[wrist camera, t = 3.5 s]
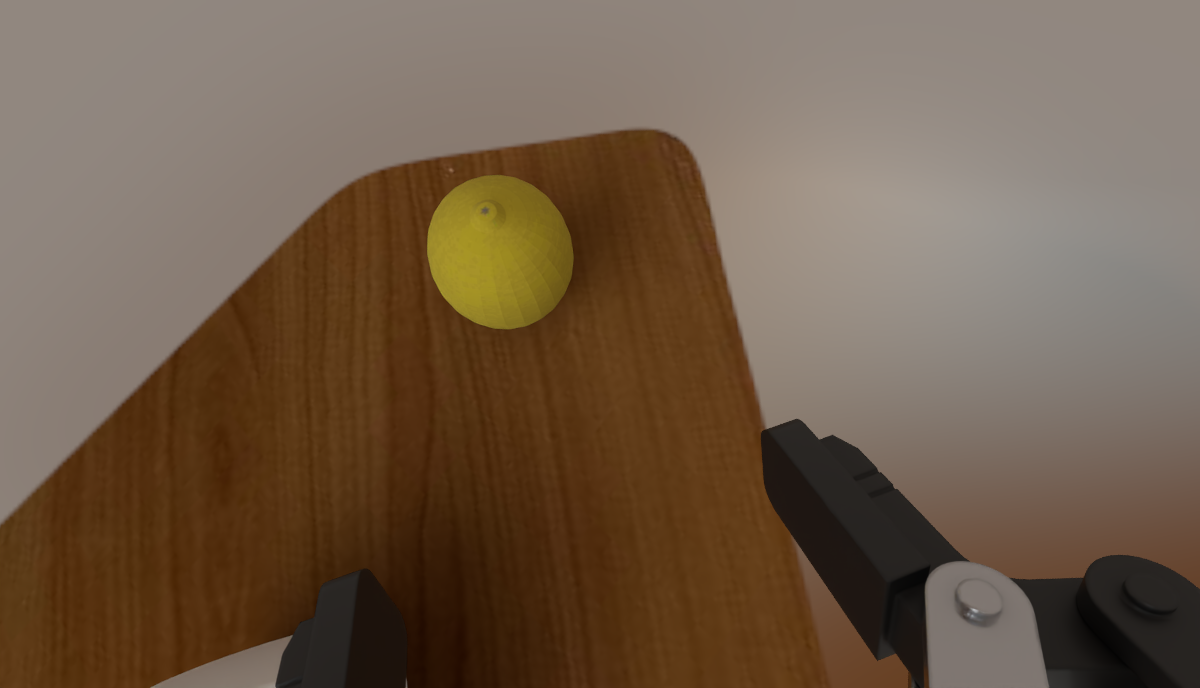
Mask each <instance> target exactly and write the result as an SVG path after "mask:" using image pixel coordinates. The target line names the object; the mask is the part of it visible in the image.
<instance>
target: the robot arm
mask: <svg viewBox="0 0 1200 688" xmlns="http://www.w3.org/2000/svg"><path fill="white" fill-rule="evenodd" d="M761 447H762V461H763V476H764V485H765V489H766V492H767V495H768V497H769V500H770V502H771V504H772V506H773V508H774V509H775V511H776V512H777V514H778V515H779V517H780V518H781V520H782V521H783V523H784V524H785V526H786V527H787V529H788V530H789V532H790V533H791V535H792V536H793V537H794V539H795V540H796V542H797V543H798V545H799V546H800V548H801V549H802V551H803V552H804V554H805V555H806V556H807V558H808V560H809V561H810V562H811V564H812V565H813V567H814V568H815V570H816V571H817V573H818V574H819V576H820V577H821V579H822V580H823V582H824V583H825V584H826V586H827V587H828V589H829V590H830V592H831V593H832V595H833V596H834V598H835V599H836V601H837V602H838V604H839V605H840V606H841V608H842V610H843V611H844V613H845V614H846V615H847V617H848V618H849V620H850V621H851V623H852V624H853V626H854V627H855V629H856V630H857V632H858V633H859V635H860V636H861V637H862V639H863V640H864V642H865V643H866V645H867V646H868V648H869V649H870V651H871V652H872V653H873V655H874V657H875V658H876V659H877V661H878V660H881V659H883V658H885V657H888V656H890V655H893V654H895V653H896V654H897V655H898V657H899V658H900V660H901V661H902V662H903V664H904V665H905V666H906V668H907V669H908V671H909V673H908V688H1200V589H1199V588H1197V587H1196V586H1195V585H1194V584H1192V583H1191V582H1190V581H1188V580H1187V579H1186V578H1184V577H1183V576H1181V575H1180V574H1178V573H1176V572H1175V571H1173V570H1171V569H1169V568H1167V567H1165V566H1163V565H1161V564H1158V563H1156V562H1152V561H1150V560H1147V559H1143V558H1140V557H1134V556H1128V555H1111V556H1106V557H1102V558H1100V559H1098V560H1096V561H1094V562H1093V563H1092V564H1091V565H1090V566H1089V568H1088V569H1087V571H1086V573H1085V576H1084V578H1064V579H1035V580H1034V579H1032V580H1026V579H1013V578H1008V577H1006V576H1005V575H1003V574H1002V573H1000V572H998V571H996V570H994V569H992V568H990V567H987V566H985V565H982V564H978V563H973V562H970V561H969V560H967V559H966V558H964V557H963V556H962V555H961V554H960V553H959V552H958V551H956V550H955V549H954V548H953V547H952V545H950V544H949V542H948V541H947V540H946V539H945V538H944V537H943V536H942V535H941V534H940V533H939V532H938V531H937V530H936V529H935V528H934V527H933V526H932V525H931V524H930V523H929V522H928V521H927V519H925V517H924V516H923V515H922V514H921V513H920V512H919V511H918V510H917V509H916V508H915V507H914V506H913V505H912V504H911V503H910V502H909V501H908V500H907V499H906V498H905V497H904V496H903V495H902V494H901V492H899V490H898V489H894V487H893V484H892V483H891V482H890V481H889V480H888V479H887V478H886V477H885V476H884V475H883V474H882V473H881V472H880V473H879V472H878V470H877V468H876V466H875V465H874V464H873V463H872V462H871V461H870V460H869V459H868V458H867V457H866V456H865V455H864V454H863V453H862V452H861V451H860V450H859V449H858V448H856V447H854V446H852V445H851V444H849V443H847V442H845V441H843V440H841V439H839V438H837V437H835V436H833V435H831V436H828V437H825V438H823V439H820V440H819V439H818V438H817V437H816V436H815V435H814V434H813V432H812V431H811V430H810V429H809V428H808V427H807V426H806V425H805V424H804V423H803V422H802V421H801V420H799V419H795V420H792V421H789V422H786V423H783V424H780V425H778V426H775V427H772V428H769V429H766V430H763V431H762V433H761ZM406 668H407V633H406V627H405V623H404V620H403V617H402V615H401V613H400V611H399V609H398V608H397V607H396V605H395V604H394V603H393V601H392V600H391V598H390V597H389V596H388V594H387V593H386V592H385V590H384V589H383V587H382V586H381V585H380V583H379V582H378V581H377V579H376V578H375V576H374V575H373V574H372V572H371V571H370V570H368V569H362V570H359V571H356V572H353V573H350V574H347V575H344V576H342V577H339V578H336V579H333V580H330V581H327V582H325V583H324V584H323V585H322V586H321V589H320V591H319V595H318V601H317V606H316V611H315V616H314V618H311V619H309V620H306V621H303V622H300V624H299V625H298V627H297V629H296V631H295V632H294V634H293V636H292V638H291V640H290V641H289V643H288V645H287V647H286V648H285V650H284V652H283V654H282V658H281V662H280V666H279V671H278V675H277V679H276V684H275V687H276V688H406Z"/></svg>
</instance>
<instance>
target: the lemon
mask: <svg viewBox="0 0 1200 688" xmlns="http://www.w3.org/2000/svg"><path fill="white" fill-rule="evenodd" d="M427 255H428V260H429V264H430V268H431V273H432V276H433V279H434V281H435V283H436V284H437V286H438V288H439V290H440V292H441V294H442V295H443V297H444V298H445V299H446V300H447V301H448V302H449V303H450V304H451V306H452V307H453V308H454V309H455V310H456V311H457V312H458V313H460V314H461V315H463V316H465V317H466V318H468V319H470V320H471V321H473V322H475V323H477V324H480V325H484V326H487V327H490V328H494V329H514V328H519V327H524V326H527V325H530V324H532V323H534V322H536V321H538V320H540V319H542V318H543V317H544V316H546V315H547V314H548V313H549V312H551V311H552V310H553V309H554V308H555V307H556V305H557V304H558V303H559V301H560V300H561V299H562V297H563V296H564V294H565V292H566V289H567V287H568V284H569V282H570V280H571V276H572V268H573V260H574V255H573V248H572V242H571V236H570V233H569V231H568V228H567V226H566V224H565V221H564V219H563V217H562V215H561V213H560V212H559V211H558V209H557V208H556V207H555V206H554V204H553V203H552V202H551V201H550V199H549V198H548V197H547V196H546V195H545V194H543V193H542V192H541V191H539V190H538V189H537V188H535V187H534V186H533V185H531V184H529V183H527V182H524V181H522V180H520V179H517V178H515V177H509V176H503V175H491V176H482V177H478V178H475V179H472V180H468V181H467V182H465V183H463V184H461V185H459V186H458V187H456V188H454V189H453V190H452V191H451V192H450V193H449V194H448V195H447V196H446V197H445V198H444V199H443V200H442V201H441V203H440V205H439V206H438V208H437V209H436V211H435V212H434V215H433V218H432V221H431V224H430V227H429V230H428V243H427Z"/></svg>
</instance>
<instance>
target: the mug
mask: <svg viewBox="0 0 1200 688" xmlns="http://www.w3.org/2000/svg"><path fill="white" fill-rule="evenodd" d="M292 636H293V635H292ZM292 636H288V637H285V638H281V639H278V640H275V641H272V642H268V643H265V644H262V645H259V646H256V647H253V648H250V649H247V650H244V651H241V652H238V653H235V654H232V655H229V656H226V657H224V658H221V659H218V660H215V661H213V662H210V663H207V664H205V665H202V666H199V667H197V668H194V669H192V670H189V671H187V672H184V673H182V674H180V675H177V676H175V677H172V678H170V679H168V680H166V681H163V682H161V683H159V684H157V685H155V686H152V687H150V688H276V687H275V684H276V679H277V675H278V671H279V666H280V662H281V658H282V654H283V652H284V650H285V648H286V647H287V645H288V643H289V641H290V640H291V638H292ZM406 688H407V680H406Z"/></svg>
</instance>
